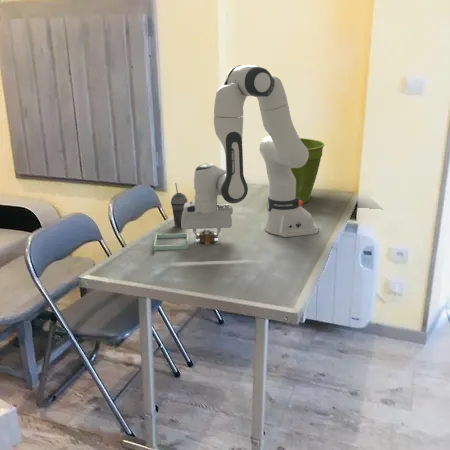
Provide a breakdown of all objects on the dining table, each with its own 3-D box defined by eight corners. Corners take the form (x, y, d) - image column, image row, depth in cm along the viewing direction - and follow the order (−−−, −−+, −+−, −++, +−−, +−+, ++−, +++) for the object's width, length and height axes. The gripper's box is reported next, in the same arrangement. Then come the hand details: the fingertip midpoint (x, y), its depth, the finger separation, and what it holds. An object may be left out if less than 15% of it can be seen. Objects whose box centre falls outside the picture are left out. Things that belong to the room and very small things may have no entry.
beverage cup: (186, 231, 222) (184, 185, 216) (169, 230, 224) (167, 185, 217) (190, 225, 229) (189, 181, 222) (174, 224, 230) (172, 180, 224)
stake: (217, 237, 214) (217, 226, 213) (218, 246, 206) (218, 233, 204) (195, 238, 214) (195, 226, 212) (195, 246, 206) (195, 234, 204)
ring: (199, 237, 212) (199, 230, 211) (214, 236, 213) (214, 230, 212) (199, 245, 204) (199, 238, 203) (215, 244, 204) (214, 237, 203)
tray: (188, 238, 214) (188, 233, 213) (188, 251, 202) (188, 245, 201) (156, 239, 213) (155, 234, 212) (153, 252, 201) (153, 246, 200)
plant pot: (253, 205, 256) (254, 146, 247) (272, 189, 282) (273, 136, 273) (313, 211, 246) (316, 150, 236) (327, 194, 272) (330, 139, 262)
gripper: (232, 202, 208) (232, 234, 213) (180, 203, 207) (181, 236, 212) (233, 206, 202) (233, 240, 207) (180, 208, 201) (181, 242, 206)
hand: (207, 238), depth 209 cm, fingers closed on ring, 6 cm apart
